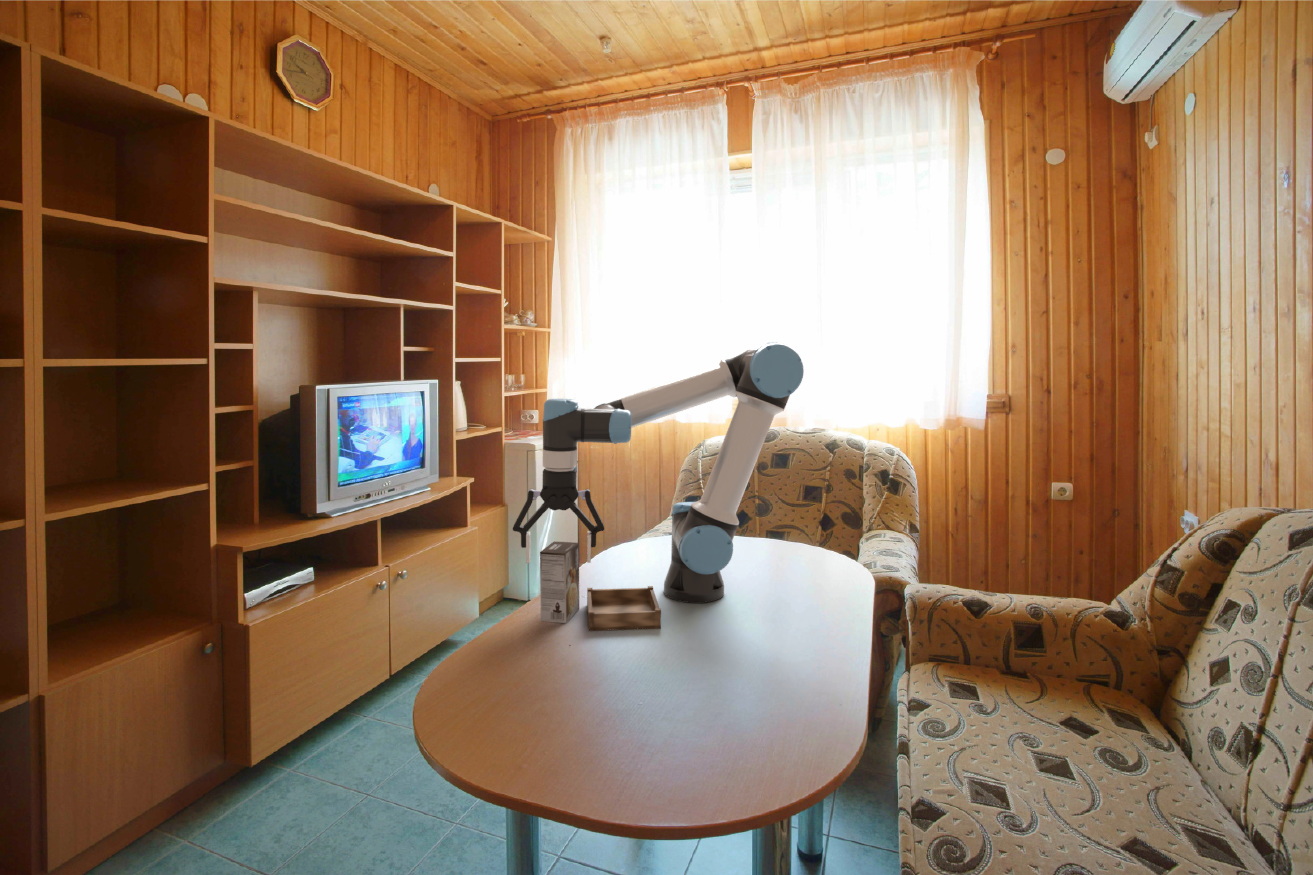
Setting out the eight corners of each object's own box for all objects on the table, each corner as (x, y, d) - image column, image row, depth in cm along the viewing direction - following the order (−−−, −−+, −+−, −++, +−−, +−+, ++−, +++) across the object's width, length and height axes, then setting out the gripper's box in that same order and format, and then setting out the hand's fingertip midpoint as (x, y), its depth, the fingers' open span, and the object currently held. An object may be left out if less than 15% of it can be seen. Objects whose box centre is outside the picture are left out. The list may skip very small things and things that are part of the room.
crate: (652, 602, 163) (652, 585, 163) (660, 628, 148) (660, 609, 147) (587, 604, 161) (587, 587, 161) (588, 631, 146) (588, 612, 145)
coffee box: (554, 606, 160) (553, 540, 158) (580, 609, 159) (580, 542, 157) (539, 621, 151) (539, 551, 149) (567, 624, 150) (567, 553, 148)
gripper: (614, 466, 156) (612, 555, 159) (504, 465, 153) (504, 556, 156) (616, 471, 149) (614, 565, 151) (500, 470, 146) (500, 566, 148)
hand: (558, 561), depth 153 cm, fingers open, 13 cm apart
